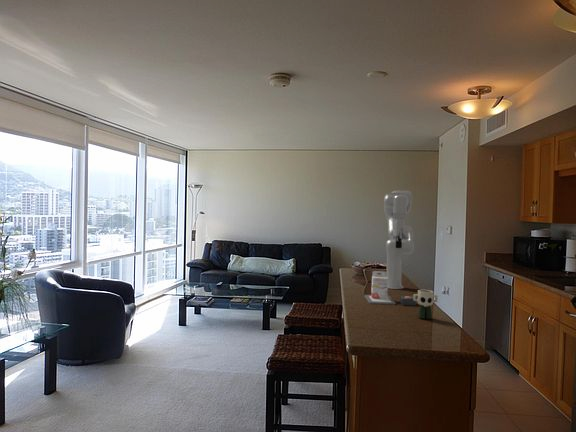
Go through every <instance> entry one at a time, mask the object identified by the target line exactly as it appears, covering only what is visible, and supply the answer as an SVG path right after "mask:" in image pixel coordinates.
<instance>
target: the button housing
mask: <svg viewBox="0 0 576 432" xmlns="http://www.w3.org/2000/svg"><path fill="white" fill-rule="evenodd" d="M405 296H406V295H400V296H399V303H400V304H401V305H402V306H413V307H414V306H415V307H416V305H417V301H414V300H413V298H414V295H412V296H411V295H408V296H409V297H411V298H404V297H405Z"/></svg>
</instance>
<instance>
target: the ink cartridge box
mask: <svg viewBox="0 0 576 432" xmlns="http://www.w3.org/2000/svg"><path fill="white" fill-rule="evenodd" d="M370 289H371V291H370V293H371V294H370V295H371V297H372V298H378V299H387V296H389V295H388V293H389V292H388V291H389V288H388V278H387V271H382V270H381V271H379V270H377V271H376V270H373V271H372V276H371V288H370Z"/></svg>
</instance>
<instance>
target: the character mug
mask: <svg viewBox="0 0 576 432" xmlns="http://www.w3.org/2000/svg"><path fill="white" fill-rule="evenodd" d="M413 297H414V298H413V300H414V301H416V302H417V304H418V305H419V307H418V312H417V317H418V318H420V319H427V320H430V319H432V317H433V316H432V307H431V306H432V305H434V303H437V302H438V295H437V294H436V295H435V294H434V291H433V290H429V289H418V290H417V293H415V294H414V293H413ZM416 297H417V298H416Z"/></svg>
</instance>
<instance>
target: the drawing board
mask: <svg viewBox="0 0 576 432" xmlns="http://www.w3.org/2000/svg"><path fill="white" fill-rule="evenodd" d="M364 298H365V299H366V300H367V303H368V304H370V305H396V304H397V302H396V301H394V299H392V297H391V295H390V296H389V295H388V296H387V299H378V298H372V297H371V294H370V295H369V294H367V295H366V294H365V295H364Z"/></svg>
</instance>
